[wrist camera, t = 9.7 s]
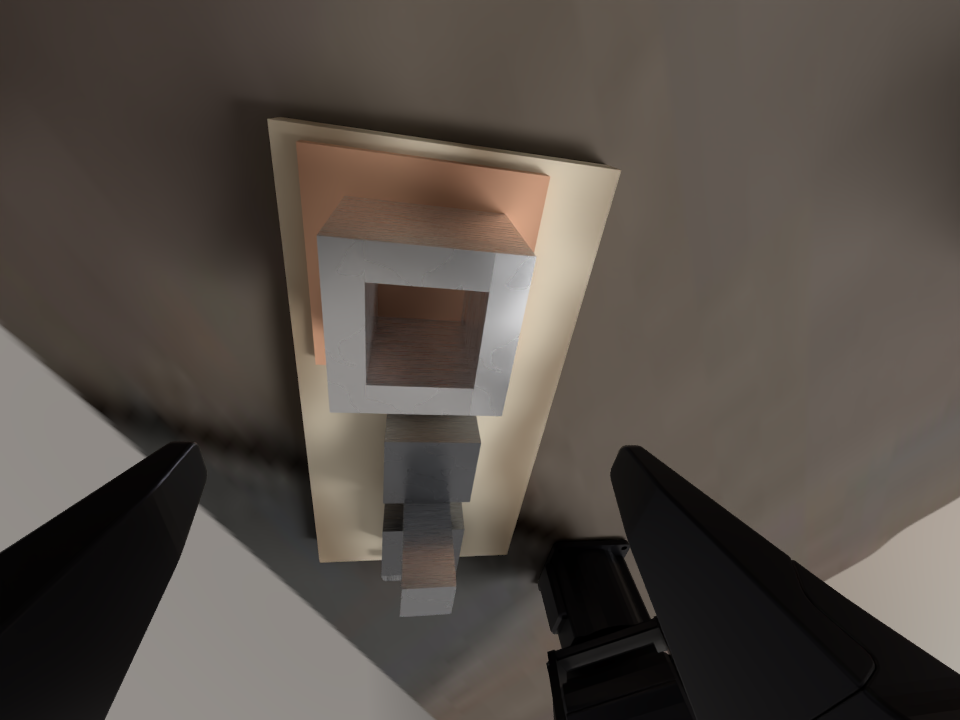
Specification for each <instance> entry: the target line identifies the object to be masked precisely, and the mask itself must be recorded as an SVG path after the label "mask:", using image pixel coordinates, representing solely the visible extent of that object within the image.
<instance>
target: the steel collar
mask: <svg viewBox="0 0 960 720" xmlns="http://www.w3.org/2000/svg"><path fill="white" fill-rule="evenodd" d="M317 248H318V261H319V275H320V288H321V302H322V315H323V329H324V342H325V356H326V369H327V382H328V396H329V409H330V413H375V414H421V415H467V416H502V414H503V409H504V404H505V400H506V395H507V391H508V386H509V381H510V377H511V372H512V368H513V363H514V358H515V354H516V349H517V345H518V340H519V336H520V331H521V326H522V322H523V317H524V313H525V308H526V303H527V299H528V294H529V290H530V285H531V280H532V276H533V271H534V267H535V262H536V255H535V254H534V253H533V251H532V250H531V248H530V247H529V246H528V244H527V243H526V242H525V240H524V239H523V238H522V236H521V235H520V233H519V232H518V231H517V229H516V228H515V227H514V225H513V224H512V223H511V221H510V220H509V218H508V217H507V216H506V214H500V213H492V212H483V211H475V210H466V209H457V208H449V207H440V206H431V205H423V204H414V203H405V202H397V201H388V200H379V199H371V198H362V197H353V196H344V197H343V199H342V200H341V202H340V203H339V204H338V206H337V207H336V209H335V210H334V211H333V213H332V214H331V216H330V217H329V219H328V220H327V221H326V223H325V224H324V226H323V227H322V228H321V230H320V231H319V233H318V234H317ZM378 283H379V284H392V285H405V286H417V287H430V288H443V289H455V290H465V293H464V300H463V308H462V316H461V321H446V320H431V319H415V318H399V317H384V316H378Z"/></svg>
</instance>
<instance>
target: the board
mask: <svg viewBox="0 0 960 720" xmlns="http://www.w3.org/2000/svg"><path fill="white" fill-rule="evenodd" d="M267 121H268V130H269V138H270V147H271V155H272V164H273V172H274V180H275V189H276V197H277V206H278V214H279V223H280V231H281V239H282V248H283V256H284V265H285V273H286V281H287V290H288V298H289V307H290V315H291V324H292V332H293V340H294V349H295V357H296V366H297V374H298V382H299V391H300V399H301V408H302V416H303V425H304V433H305V441H306V450H307V458H308V467H309V475H310V484H311V492H312V500H313V509H314V517H315V526H316V534H317V542H318V551H319V559H320V563H321V562H345V561H369V560H382V532H383V519H384V506H385V504H383V484H384V441H385V430H386V419H387V414H375V413H330V409H329V396H328V382H327V369H326V356H325V342H324V329H323V315H322V302H321V288H320V275H319V261H318V248H317V234H318V233H319V231H320V230H321V228H322V227H323V226H324V224H325V223H326V221H327V220H328V219H329V217H330V216H331V214H332V213H333V211H334V210H335V209H336V207H337V206H338V204H339V203H340V202H341V200H342V199H343V197H344V196H353V197H362V198H371V199H379V200H388V201H397V202H405V203H414V204H423V205H431V206H440V207H449V208H457V209H466V210H475V211H483V212H492V213H500V214H506V216H507V217H508V218H509V220H510V221H511V223H512V224H513V225H514V227H515V228H516V229H517V231H518V232H519V233H520V235H521V236H522V238H523V239H524V240H525V242H526V243H527V244H528V246H529V247H530V248H531V250H532V251H533V253H534V254H535V255H536V262H535V267H534V271H533V276H532V280H531V285H530V290H529V294H528V299H527V303H526V308H525V313H524V317H523V322H522V326H521V331H520V336H519V340H518V345H517V349H516V354H515V358H514V363H513V368H512V372H511V377H510V381H509V386H508V391H507V395H506V400H505V404H504V409H503V414H502V416H476V417H477V423H478V428H479V434H480V439H481V447H480V452H479V457H478V462H477V468H476V473H475V478H474V483H473V488H472V493H471V499H470V502H462V511H463V520H464V529H465V530H464V535H463V540H462V545H461V550H460V556H459V557H464V556H488V555H507V552H508V549H509V546H510V542H511V539H512V536H513V532H514V529H515V525H516V522H517V519H518V515H519V512H520V509H521V505H522V502H523V499H524V495H525V492H526V488H527V485H528V482H529V478H530V475H531V472H532V468H533V465H534V462H535V458H536V455H537V452H538V448H539V445H540V441H541V438H542V435H543V431H544V428H545V425H546V421H547V418H548V415H549V411H550V408H551V404H552V401H553V398H554V394H555V391H556V388H557V384H558V381H559V378H560V374H561V371H562V368H563V364H564V361H565V357H566V354H567V351H568V347H569V344H570V341H571V337H572V334H573V331H574V327H575V324H576V320H577V317H578V314H579V310H580V307H581V304H582V300H583V297H584V294H585V290H586V287H587V284H588V280H589V277H590V273H591V270H592V267H593V263H594V260H595V257H596V253H597V250H598V247H599V243H600V240H601V236H602V233H603V230H604V226H605V223H606V220H607V216H608V213H609V210H610V206H611V203H612V200H613V196H614V193H615V189H616V186H617V183H618V179H619V176H620V173H621V170H619V169H616V168H614V167H611V166H608V165H604V164H598V163H591V162H584V161H577V160H570V159H563V158H557V157H550V156H543V155H536V154H529V153H523V152H516V151H509V150H502V149H495V148H489V147H482V146H475V145H468V144H461V143H455V142H448V141H441V140H434V139H427V138H421V137H414V136H407V135H400V134H393V133H387V132H380V131H373V130H366V129H359V128H352V127H346V126H339V125H332V124H325V123H318V122H312V121H305V120H298V119H291V118H284V117H276V118H270V119H267ZM464 293H465V290H455V289H443V288H430V287H417V286H405V285H392V284H379V283H378V316H384V317H399V318H415V319H431V320H446V321H461V316H462V308H463V300H464Z"/></svg>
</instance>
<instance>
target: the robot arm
mask: <svg viewBox="0 0 960 720" xmlns="http://www.w3.org/2000/svg"><path fill="white" fill-rule="evenodd" d="M610 477H611V482H612V486H613V489H614V493H615V497H616V500H617V504H618V508H619V511H620V515H621V518H622V522H623V526H624V529H625V533H626V536H627V539H628V541H627V540H611V541H584V542H559V543H556V544H554V545H553V547H552V550H551V552H550V555H549V557H548V560H547V563H546V564H545V566H544V568H543V571H542V574H541V576H540V579H539V583H538V588H539V591H541V594H542V598H543V602H544V606H545V610H546V614H547V618H548V622H549V626H550V630H551V632H552V633H553V634H558V636H559V640H560V644H561V647H562V649H560V650H557V651H555V650H552V651H549V652H547V653H548V660H549V661H548V662H547V663H546V665H547V669H548V673H549V678H550V684H551V690H552V697H553V712H554V720H960V674H958V673H957V672H955V671H954V670H952V669H951V668H949V667H948V666H946V665H945V664H943V663H942V662H940V661H939V660H937V659H936V658H934V657H933V656H931V655H930V654H928V653H927V652H925V651H924V650H922V649H921V648H919V647H918V646H916V645H915V644H914V643H912V642H910V641H909V640H907V639H906V638H904V637H903V636H902V635H900V634H898V633H897V632H896V631H894V630H893V629H891V628H890V627H888V626H887V625H885V624H883V623H882V622H880V621H879V620H878V619H876V618H875V617H873V616H872V615H870V614H869V613H867V612H866V611H864V610H863V609H862V608H860V607H859V606H857V605H856V604H854V603H853V602H851V601H850V600H848V599H847V598H845V597H844V596H843V595H841V594H840V593H838V592H837V591H836V590H834V589H833V588H832V587H830V586H829V585H827V584H826V583H825V582H823V581H822V580H820V579H819V578H818V577H816V576H815V575H814V574H812V573H811V572H810V571H808V570H807V569H806V568H804V567H803V566H801V565H800V564H799V563H797V562H796V561H795V560H791V558H790V557H789V556H788V555H787V554H785V553H784V552H783V551H781V550H780V549H778V548H777V547H776V546H774V545H773V544H772V543H770V542H769V541H768V540H766V539H765V538H764V537H762V536H761V535H760V534H758V533H757V532H756V531H754V530H753V529H752V528H750V527H749V526H748V525H746V524H745V523H743V522H742V521H741V520H739V519H738V518H737V517H735V516H734V515H733V514H731V513H730V512H729V511H727V510H726V509H725V508H723V507H722V506H721V505H719V504H718V503H717V502H715V501H714V500H713V499H711V498H710V497H708V496H707V495H706V494H704V493H703V492H702V491H700V490H699V489H698V488H696V487H695V486H694V485H692V484H691V483H690V482H688V481H687V480H686V479H684V478H683V477H682V476H680V475H679V474H678V473H676V472H675V471H673V470H672V469H671V468H669V467H668V466H667V465H665V464H664V463H663V462H661V461H660V460H659V459H657V458H656V457H655V456H653V455H652V454H651V453H649V452H648V451H647V450H645V449H644V448H642V447H641V446H637V445H625V446H622V447H621V448H620V450H619V452H618V454H617V457H616V459H615V461H614V463H613V466H612V468H611V472H610ZM206 479H207V470H206V467H205V463H204V460H203V457H202V454H201V450H200V447H199V445H198V444H197V443H196V442H193V441H174V442H170V443H168V444H166V445H165V446H163V447H162V448H160V449H159V450H157V451H156V452H154V453H153V454H151V455H150V456H148V457H146V458H145V459H143V460H142V461H140V462H139V463H137V464H136V465H134V466H133V467H131V468H130V469H128V470H126V471H125V472H123V473H122V474H120V475H119V476H117V477H116V478H114V479H113V480H111V481H110V482H108V483H106V484H105V485H103V486H102V487H100V488H99V489H97V490H96V491H94V492H93V493H91V494H90V495H88V496H87V497H85V498H84V499H82V500H81V501H79V502H77V503H76V504H74V505H73V506H71V507H69V508H68V509H67V510H65V511H63V512H62V513H60V514H59V515H57V516H56V517H54V518H53V519H51V520H50V521H48V522H47V523H45V524H43V525H42V526H40V527H39V528H37V529H36V530H34V531H33V532H31V533H30V534H28V535H26V536H25V537H23V538H22V539H20V540H19V541H17V542H16V543H14V544H13V545H11V546H9V547H8V548H6V549H5V550H3V551H2V552H0V720H105V718H106V716H107V714H108V711H109V709H110V707H111V705H112V703H113V701H114V699H115V697H116V694H117V692H118V690H119V688H120V686H121V684H122V682H123V679H124V677H125V675H126V673H127V671H128V669H129V667H130V664H131V662H132V660H133V658H134V656H135V654H136V651H137V649H138V647H139V645H140V643H141V641H142V639H143V637H144V634H145V632H146V630H147V628H148V626H149V624H150V622H151V619H152V617H153V615H154V613H155V611H156V609H157V607H158V604H159V602H160V600H161V598H162V595H163V594H164V592H165V589H166V587H167V585H168V583H169V581H170V579H171V577H172V574H173V572H174V570H175V568H176V566H177V563H178V561H179V559H180V556H181V553H182V550H183V548H184V545H185V542H186V539H187V536H188V533H189V530H190V527H191V524H192V521H193V519H194V516H195V513H196V510H197V507H198V504H199V501H200V498H201V495H202V492H203V489H204V486H205V483H206ZM628 542H629V543H628ZM629 548H631V550H632V553H633V556H634V558H635V561H636V563H637V566H638V569H639V571H640V574H641V576H642V579H643V582H644V584H645V587H646V589H647V592H648V594H649V597H650V600H651V602H652V605H653V607H654V610H655V613H656V615H657V616H654V618H653V619H651V618H650V616H649V614H648V611H647V609H646V607H645V605H644V602H643V600H642V598H641V596H640V593H639V591H638V589H637V587H636V584H635V582H634V580H633V578H632V575H631V573H630V571H629V569H628V567H627V564H626V562H625V560H624V557H625V556H626V554H627V552H628V550H629ZM664 651H668V653H669V654H667V653H665V652H664Z"/></svg>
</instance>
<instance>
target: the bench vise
mask: <svg viewBox="0 0 960 720" xmlns="http://www.w3.org/2000/svg"><path fill="white" fill-rule="evenodd" d="M480 447H481V439H480V434H479V428H478V423H477V417H476V416H467V415H421V414H387V419H386V430H385V441H384V484H383V504H385V506H384V519H383V532H382V572H381V577H382V579H383V580H384V581H395V580H401V599H400V617H409V616H424V615H439V614H451V611H452V606H453V601H454V596H455V591H456V574H455V572H456V571H457V566H458V561H459V556H460V550H461V545H462V540H463V535H464V530H465V529H464V520H463V511H462V502H470V499H471V493H472V488H473V483H474V478H475V473H476V468H477V462H478V457H479V452H480Z"/></svg>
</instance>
